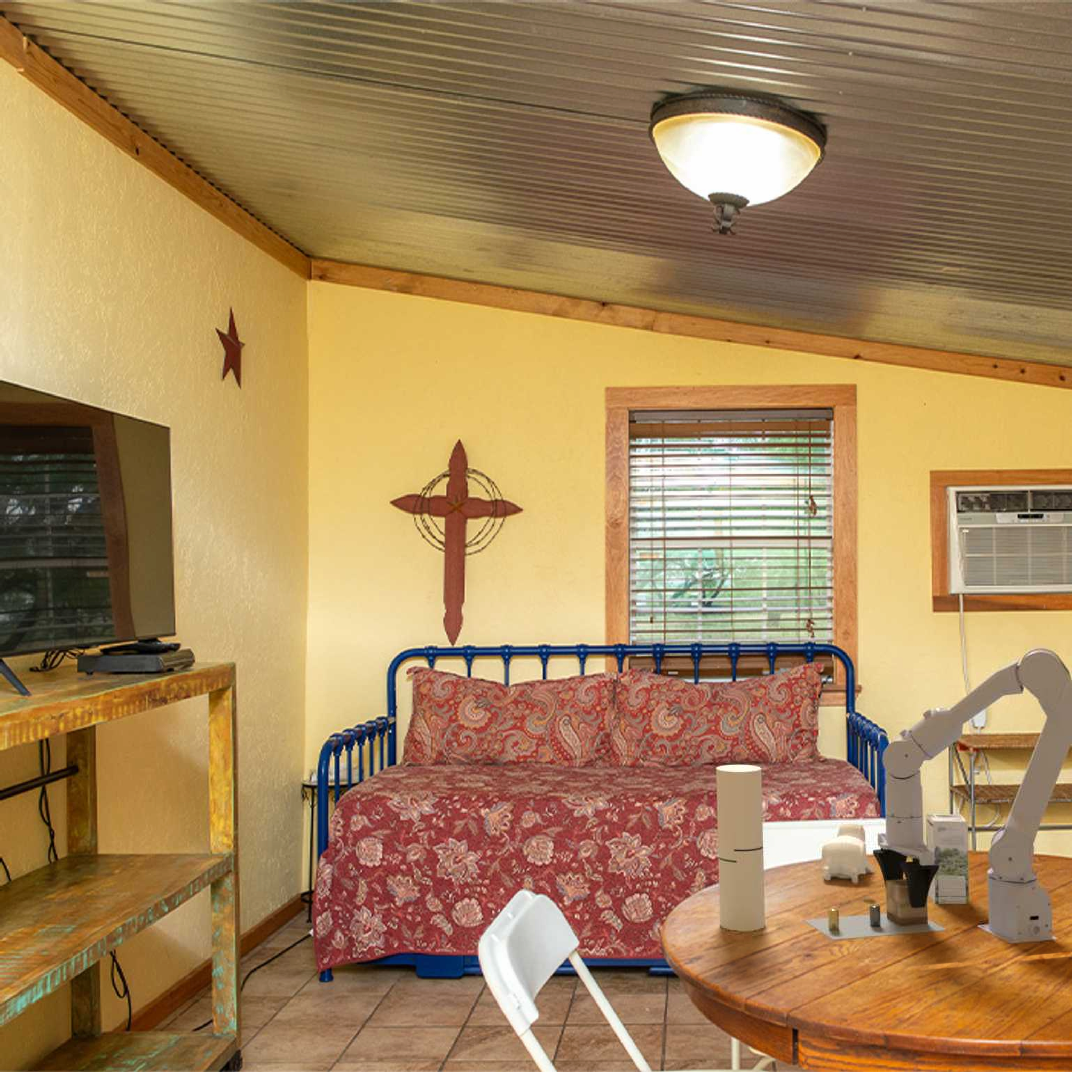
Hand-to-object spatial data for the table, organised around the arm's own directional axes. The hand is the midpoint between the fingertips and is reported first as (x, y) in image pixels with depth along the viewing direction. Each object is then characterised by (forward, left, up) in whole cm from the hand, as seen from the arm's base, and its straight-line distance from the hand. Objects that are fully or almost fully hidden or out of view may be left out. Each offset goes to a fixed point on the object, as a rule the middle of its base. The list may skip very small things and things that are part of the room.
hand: (906, 900), depth 196 cm
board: (-1, +6, -4) cm, 7 cm away
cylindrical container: (+7, +25, -4) cm, 26 cm away
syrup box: (+10, -13, -4) cm, 17 cm away
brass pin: (-1, +13, -4) cm, 13 cm away
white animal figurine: (+33, -6, -4) cm, 33 cm away
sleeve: (0, 0, -3) cm, 3 cm away
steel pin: (-1, +6, -4) cm, 7 cm away
